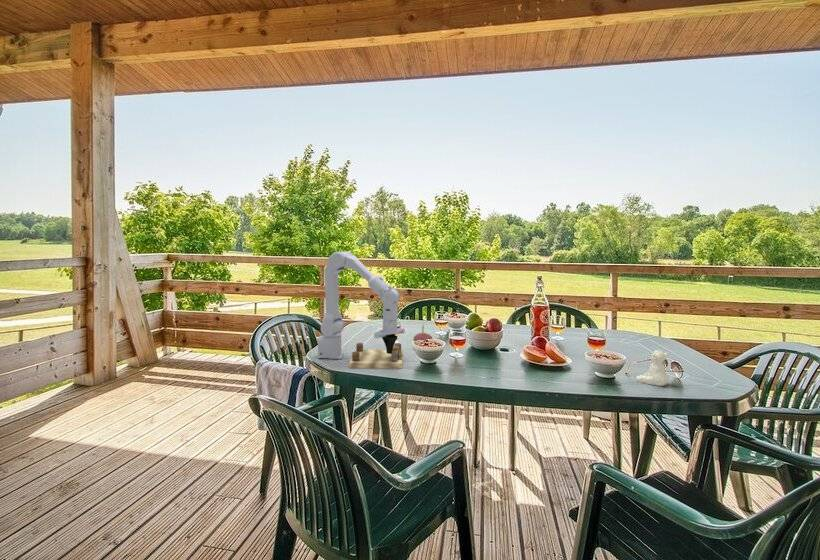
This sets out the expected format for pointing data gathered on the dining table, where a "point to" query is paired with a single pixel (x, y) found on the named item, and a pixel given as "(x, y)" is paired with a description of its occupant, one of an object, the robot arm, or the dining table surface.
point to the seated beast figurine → (655, 370)
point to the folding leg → (395, 353)
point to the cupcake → (422, 335)
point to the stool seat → (374, 358)
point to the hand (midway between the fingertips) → (389, 353)
